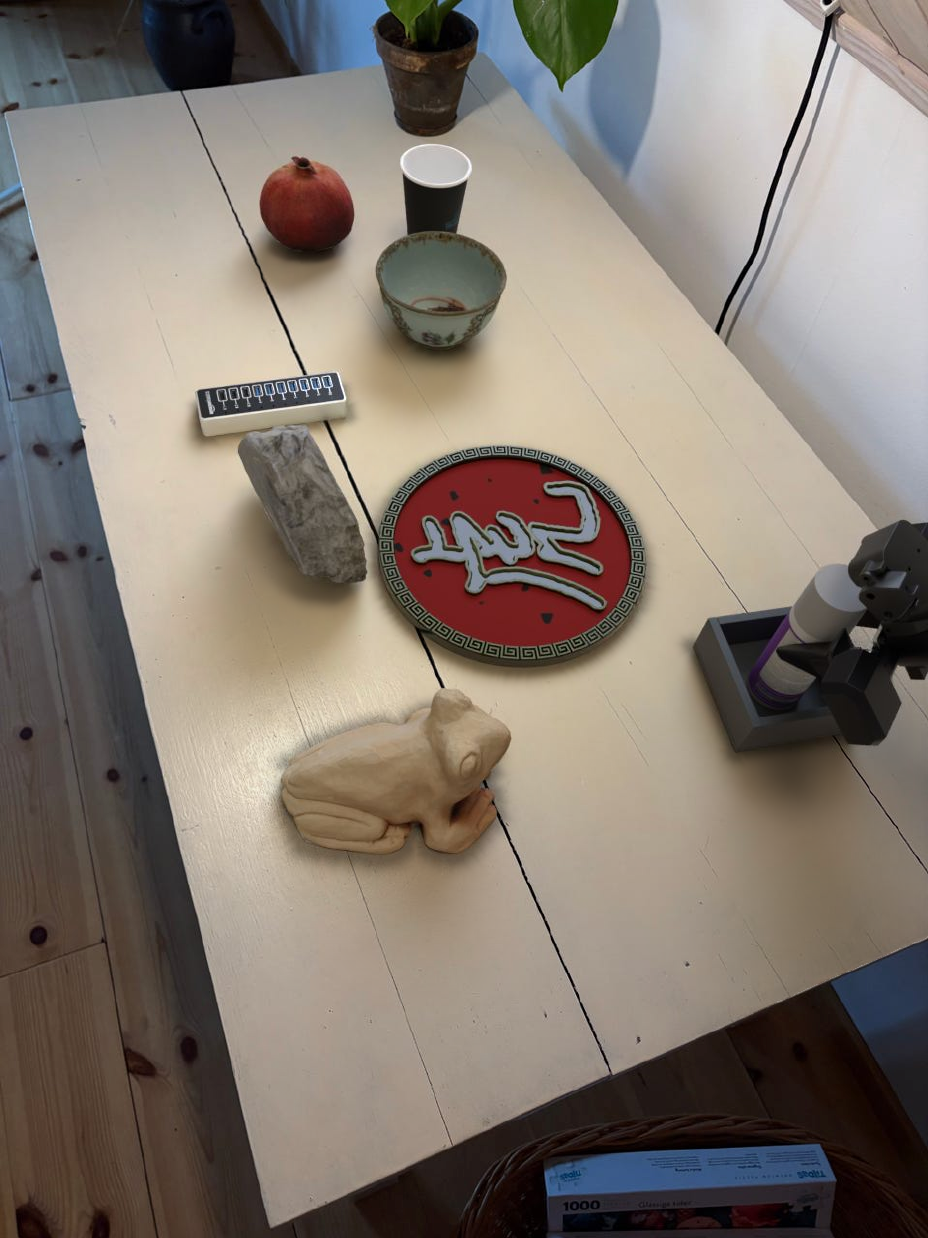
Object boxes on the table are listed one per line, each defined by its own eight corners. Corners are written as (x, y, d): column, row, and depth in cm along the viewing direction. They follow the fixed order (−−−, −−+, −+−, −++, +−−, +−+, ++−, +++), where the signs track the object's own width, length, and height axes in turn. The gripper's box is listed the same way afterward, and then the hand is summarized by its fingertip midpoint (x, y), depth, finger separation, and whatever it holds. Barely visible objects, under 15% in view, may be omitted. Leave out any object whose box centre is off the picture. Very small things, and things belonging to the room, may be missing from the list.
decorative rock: (373, 595, 85) (373, 485, 72) (304, 622, 82) (292, 512, 70) (302, 470, 92) (291, 349, 79) (237, 491, 90) (215, 370, 77)
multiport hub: (347, 417, 96) (347, 400, 94) (203, 437, 93) (199, 420, 91) (339, 387, 99) (338, 370, 97) (197, 405, 95) (194, 388, 93)
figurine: (510, 848, 73) (529, 798, 64) (283, 870, 70) (272, 821, 62) (488, 706, 79) (502, 644, 71) (280, 722, 77) (269, 659, 69)
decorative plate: (671, 654, 82) (384, 664, 79) (667, 661, 83) (384, 671, 80) (620, 443, 96) (373, 445, 93) (617, 451, 97) (373, 453, 94)
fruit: (251, 258, 109) (241, 176, 100) (279, 209, 114) (272, 128, 106) (340, 277, 108) (338, 197, 100) (364, 227, 114) (364, 147, 105)
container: (766, 654, 84) (834, 551, 72) (810, 688, 82) (887, 589, 70) (736, 685, 82) (800, 585, 69) (780, 721, 80) (854, 624, 68)
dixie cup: (393, 231, 114) (395, 143, 104) (458, 229, 115) (465, 142, 106) (401, 273, 109) (404, 185, 100) (468, 271, 111) (477, 184, 102)
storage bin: (799, 630, 86) (820, 601, 83) (848, 733, 81) (872, 708, 77) (692, 645, 85) (708, 617, 81) (735, 752, 79) (753, 727, 75)
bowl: (495, 295, 109) (503, 233, 102) (501, 376, 101) (510, 316, 95) (376, 289, 108) (377, 226, 101) (373, 371, 100) (374, 309, 94)
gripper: (1000, 450, 66) (796, 482, 78) (915, 631, 56) (697, 636, 68) (1044, 572, 70) (845, 585, 82) (972, 758, 61) (759, 742, 73)
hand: (790, 631), depth 76 cm, fingers closed on container, 5 cm apart
